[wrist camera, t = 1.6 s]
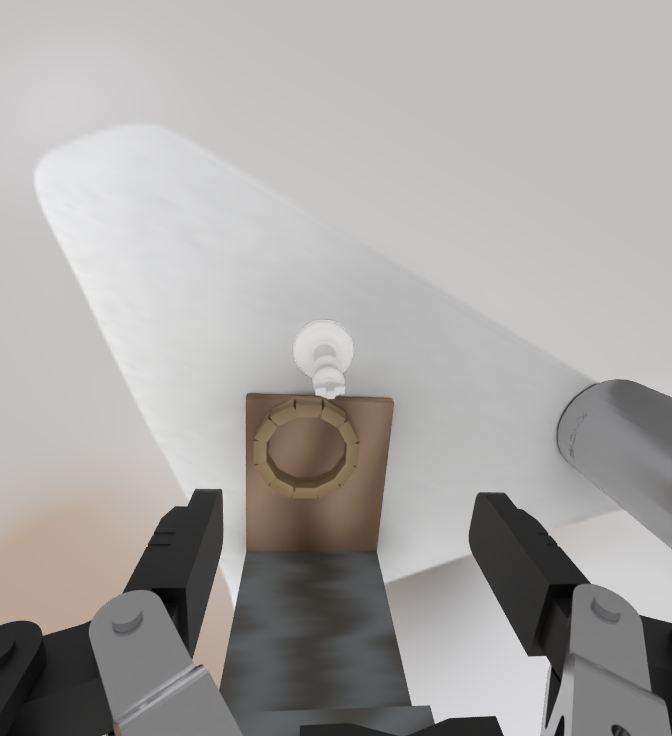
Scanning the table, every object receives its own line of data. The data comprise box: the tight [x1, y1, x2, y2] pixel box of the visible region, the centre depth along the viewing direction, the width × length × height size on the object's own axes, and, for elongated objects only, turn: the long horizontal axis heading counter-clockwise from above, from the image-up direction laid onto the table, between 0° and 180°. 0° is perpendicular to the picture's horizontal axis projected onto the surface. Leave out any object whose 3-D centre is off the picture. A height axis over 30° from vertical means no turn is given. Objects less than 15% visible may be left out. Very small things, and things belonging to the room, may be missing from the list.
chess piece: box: [293, 319, 354, 399], centre depth 26 cm, size 5×5×10 cm
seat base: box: [219, 394, 435, 736], centre depth 26 cm, size 12×16×18 cm
